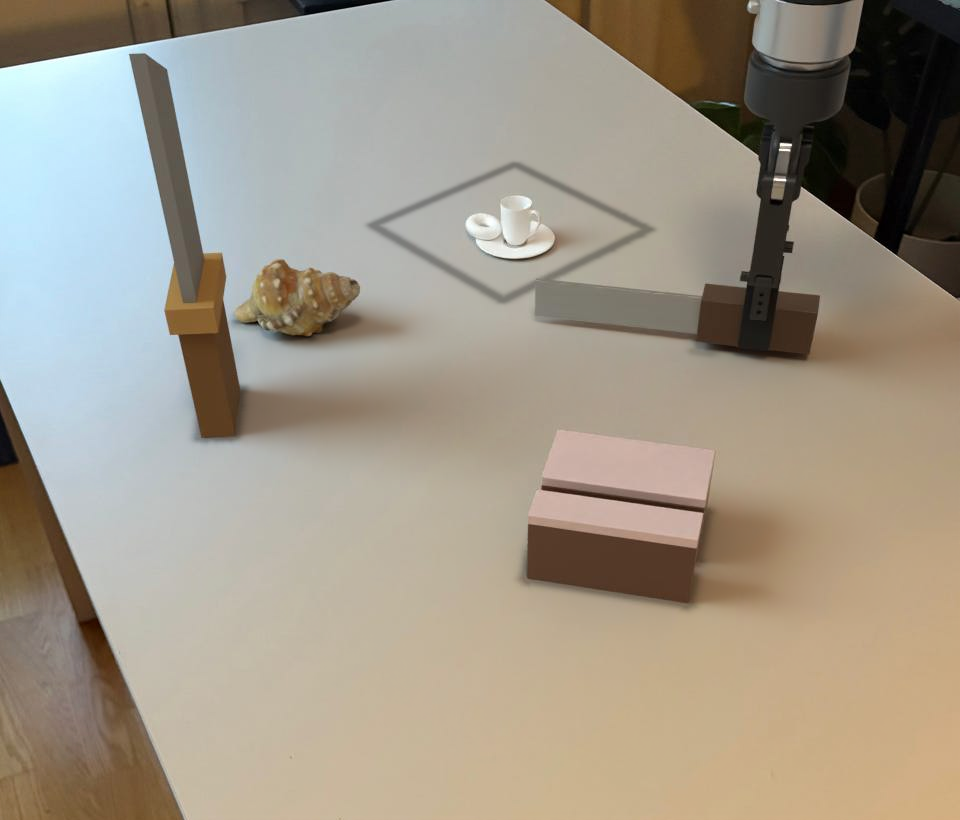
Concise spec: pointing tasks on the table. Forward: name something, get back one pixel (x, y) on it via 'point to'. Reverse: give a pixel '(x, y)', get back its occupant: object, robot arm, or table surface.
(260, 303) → the seashell
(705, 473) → the cake
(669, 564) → the cake slice
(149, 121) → the knife
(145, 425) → the table surface
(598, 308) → the cake knife
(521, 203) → the teacup and saucer
